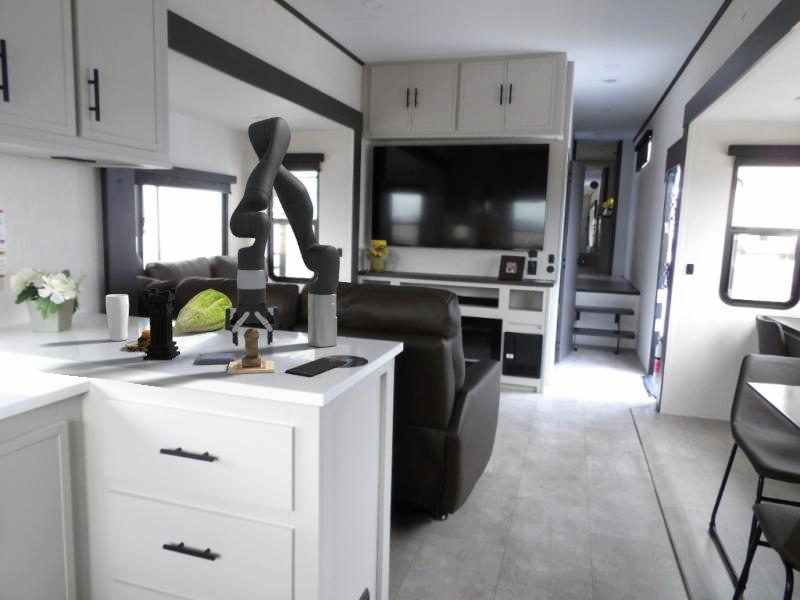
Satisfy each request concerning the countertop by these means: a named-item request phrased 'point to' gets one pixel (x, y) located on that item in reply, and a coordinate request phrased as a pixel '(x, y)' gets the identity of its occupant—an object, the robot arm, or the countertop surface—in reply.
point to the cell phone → (316, 367)
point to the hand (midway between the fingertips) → (252, 344)
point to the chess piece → (160, 325)
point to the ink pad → (216, 358)
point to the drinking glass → (117, 316)
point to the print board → (237, 368)
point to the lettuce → (203, 312)
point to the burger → (140, 342)
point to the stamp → (251, 350)
